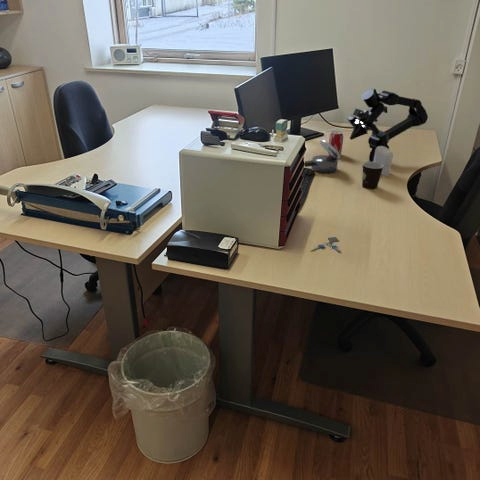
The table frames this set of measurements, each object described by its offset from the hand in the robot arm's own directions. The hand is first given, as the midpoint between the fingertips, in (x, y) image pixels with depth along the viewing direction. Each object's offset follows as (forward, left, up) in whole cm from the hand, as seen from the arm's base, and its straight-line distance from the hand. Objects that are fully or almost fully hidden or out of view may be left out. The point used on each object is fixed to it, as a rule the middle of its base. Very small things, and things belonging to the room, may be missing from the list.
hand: (350, 139), depth 211 cm
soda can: (+10, -14, -14) cm, 22 cm away
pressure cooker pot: (+11, +13, -13) cm, 21 cm away
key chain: (-17, +81, -14) cm, 84 cm away
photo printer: (-17, +1, -14) cm, 21 cm away
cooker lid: (+7, +9, -4) cm, 12 cm away
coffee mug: (-16, +20, -14) cm, 29 cm away
